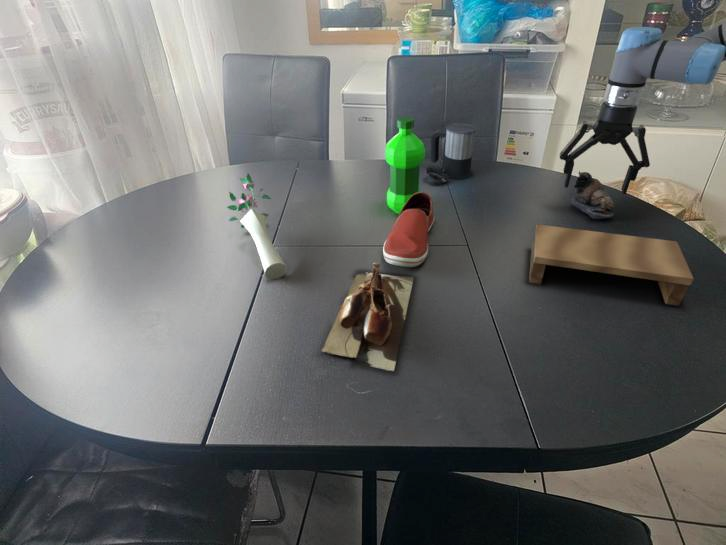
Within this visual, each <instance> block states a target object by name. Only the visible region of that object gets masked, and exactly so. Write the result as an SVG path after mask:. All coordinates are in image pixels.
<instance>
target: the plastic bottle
mask: <svg viewBox="0 0 726 545" xmlns="http://www.w3.org/2000/svg"><path fill="white" fill-rule="evenodd" d="M396 128H397V129H398V133H397V134H396V135H395V134H394V136H393V137H392V138H390V140H388V141H387V142H386V145H385V148H384V152H385V155H384V156H385V161H386V163H387V164H388V165H389V188H388V189H387V192H386V205H387V207H388V208H389V209H391V210H392V211H394V212H395V213H396V214H398V215H400V212H401V210H402V208H403V206H404V205H405V204H406V202H407V201H408V199H409V198H410V197H411V196H412V195H414V194H416V193H419V192H421V190H420V188H419V187H420V166H421V164H422V163H424V161H425V158H426V149H425V144H424V142H423V140H421V139H420V138H419V137H418V136H417V135H416V134H414V133H413V132H412V130H413V128H415V118H414V117H411V116H401V117H398V118H397V119H396Z"/></svg>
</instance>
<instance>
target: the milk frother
mask: <svg viewBox="0 0 726 545" xmlns="http://www.w3.org/2000/svg"><path fill="white" fill-rule="evenodd" d="M476 132H477V127H476V126H475V125H473V124H470V123H469V124H468V123H462V122H461V123H451V124H448V125H446V126H445V128H439V129H437V130H436V131H434V132H433V133H432V135H431V138H430V162H431V163H432V164H433V163H435V164H436V163H437V162H438V161H439V157H440V156H439V155H440V154H439V153H440V137H441V138H444V143H443V144H444V145H443V155H442V157H443V158H442V170H438V169H436V168H432V167H427V168H425V170H424V173H425V175H426V177H427V179H429V180H430V181H432V182H433V183H436V185H444V184H446V183H448V179H449V178H450V179H465V178H469V177H470V176H471V175H472V171H471V170H472V158H473V151H474V144H475V136H476Z"/></svg>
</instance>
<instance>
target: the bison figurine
mask: <svg viewBox="0 0 726 545" xmlns="http://www.w3.org/2000/svg"><path fill="white" fill-rule="evenodd" d="M578 175H579V176H578V177H577V178H576V180H575V184H574V186H573V187H574V189H576V195H574V196H573V197H572V199H571V203H572V205H573V206H574V207H575V208H576V209H578V210H580V211H581V212H583V213H585V214H587V215H588V216H589V217H590V218H592V219H594V220H605V219H611V218H612V217H614V213H613V210H614V208H615V205H614V201H613V199H612V198H611V197H610V196H609V194H608V192H607V191H606V189H605V187H604V184H603V183H602V182H601V181H599V179H597V178H594V177H593V176H592V174H591V173H589V172H588V171H581V170H579V171H578Z"/></svg>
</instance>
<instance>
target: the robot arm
mask: <svg viewBox="0 0 726 545" xmlns="http://www.w3.org/2000/svg"><path fill="white" fill-rule="evenodd" d="M662 34H663V31H662V30H661V28H658V27H652V26H651V27H650V26H631V27H628V28H626V29H625V30H623V32H622V34H621V36H620V40H619V43H618V45H617V47H616V48H617V49H616V50H615V54H614V59H613V61H612V62H613V63H612V66H611V70H610V73H609V78H608V81H607V83H606V86H605V87H606V88H605V92H604V93H603V97H602V101H603V103H601V105H600V109H599V111H598V115H597V118H596V121H595V123H589V122H587V121H586V120H584V121H582V122H581V124H580V126H579V130H578V131H577V132H576V133H575V134H574V136H572V138H571V139H570V140H569V141H568V142H567V144H566V145H565V147H564V148H563V149H562V150H561V151H560V152H559V159H560V160H562V161H565V162H564V165H563V174H564V175H566V176H565V179H564V188H567V189H568V188H569V186H570V183H571V182H570V181H571V178H572V175H573V174H572V173H573V170H574V166H575V160H576V159H578V157H580V156H581V155H582V154H585V153H586V152H587V151H588V150H589V149H591V148H592V147H594V146H596V145H597V144H598V143H600V144H601V145H607V144H608V145H612V146H616V145H619V144H620V145H621V147H622V148H623V150H624V152H625V154H626V156H627V157H628V158H629V160H630V162H631V164H629V165H628V168H627V171H626V174H625V176H624V180H623V183H622V186H621V189H620V191H621V192H622V193H621V194H623V195H626V194H627V192H628V189H629V186H630V184H631V181H632V182H635V180H636V179H637V177H638V174H639V171H640V170H641V169H642V168H649V167H650V165H651V163H650V158H649V154H648V153H649V152H648V149H647V144H646V138H645V137H646V134H647V133H646V132H647V129H646V127H645V126H644V125H643V124H640V125H639V126H633V123H634V120H635V117H636V114H637V111H638V106H637V105H638V104H639V103H640V101H641V98H642V95H643V92H644V88H645V86H646V82H647V80H648V79H650V80H657V81H666V82H675V83H682V84H688V85H691V86H692V85H703V86H704V85H709V84H711V83H713V81H714V79H715V78H716V76H717V74H718V71H719V69H720V68H721V65H722V63H723V62H725V61H726V21H725V22H723V23H721V24H719V25H716V26H714V27H712V28H709V29H707V30H705V31H700V32H698V33H695V34H693V35H691V36H689V37H688V38H687V39H686V40H684V41H681V40H668V39H667V40H666V39H662ZM590 131H593V134H592V135H590V137H589V138H588V139H587V140H586V141H584V142H583V143H581V145H579V146H578V147H576V146H577V144H579V142H580V141H581V140H582V139H583V137H584V136H585V134H588V133H589V132H590ZM632 133H633V134H634V136H635V137H636V139H637V144H638V148H639V153H640V157H641V160H638V157H637V156H636V154H635V153H634V151H633V149H632V148H631V146H630V144H629V142H628V141H627V139H626V138H628V136H630V135H631V134H632ZM575 147H576V148H575ZM574 148H575V149H574ZM573 149H574V150H573Z"/></svg>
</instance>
